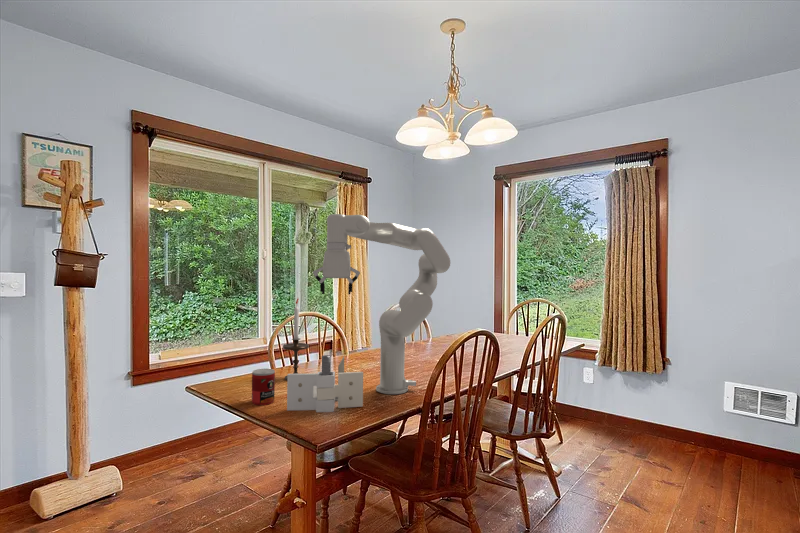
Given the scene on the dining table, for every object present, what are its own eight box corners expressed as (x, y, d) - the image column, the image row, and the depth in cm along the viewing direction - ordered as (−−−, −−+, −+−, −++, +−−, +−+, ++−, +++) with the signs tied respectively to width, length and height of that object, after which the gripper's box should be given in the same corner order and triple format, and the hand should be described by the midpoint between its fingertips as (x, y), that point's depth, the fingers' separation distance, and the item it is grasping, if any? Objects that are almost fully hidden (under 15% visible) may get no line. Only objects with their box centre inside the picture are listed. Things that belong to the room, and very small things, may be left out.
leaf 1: (334, 406, 147) (335, 371, 147) (333, 411, 141) (334, 375, 141) (288, 407, 145) (289, 372, 146) (285, 412, 140) (286, 376, 140)
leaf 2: (361, 403, 150) (361, 370, 150) (363, 408, 144) (364, 374, 144) (316, 406, 146) (316, 372, 146) (317, 411, 140) (317, 376, 140)
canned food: (262, 407, 145) (262, 374, 145) (246, 402, 149) (247, 371, 149) (279, 401, 152) (279, 370, 152) (264, 397, 156) (264, 367, 156)
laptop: (312, 387, 170) (313, 355, 170) (344, 387, 171) (344, 355, 171) (304, 401, 152) (304, 365, 152) (339, 402, 153) (339, 365, 153)
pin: (330, 407, 146) (331, 355, 146) (329, 410, 143) (330, 357, 143) (321, 407, 145) (322, 355, 145) (320, 410, 142) (321, 357, 142)
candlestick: (313, 377, 184) (315, 297, 184) (295, 383, 175) (296, 298, 175) (295, 374, 190) (297, 296, 190) (277, 379, 180) (278, 297, 180)
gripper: (360, 248, 162) (359, 293, 162) (314, 247, 160) (313, 293, 160) (360, 247, 154) (359, 294, 154) (312, 246, 153) (311, 294, 153)
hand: (336, 293), depth 157 cm, fingers open, 9 cm apart
